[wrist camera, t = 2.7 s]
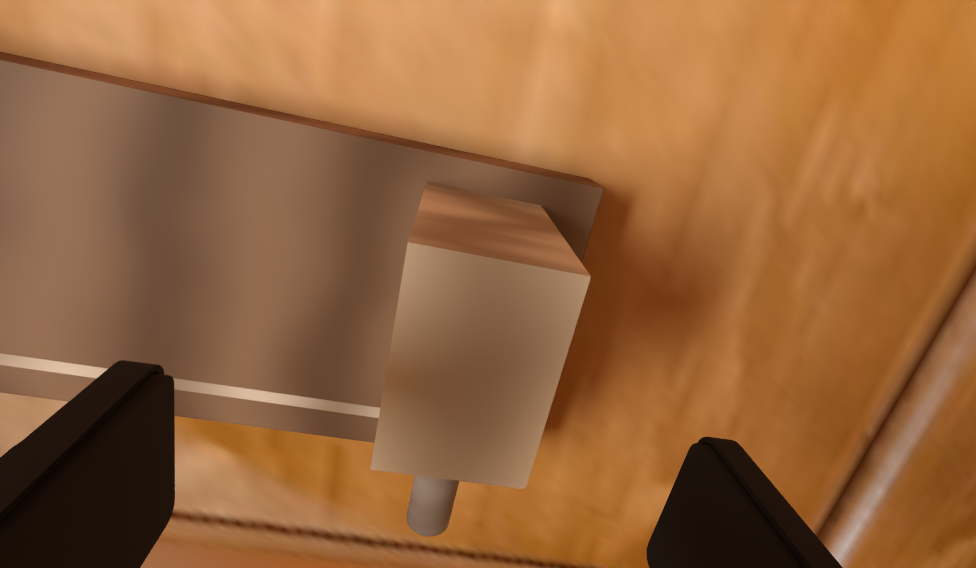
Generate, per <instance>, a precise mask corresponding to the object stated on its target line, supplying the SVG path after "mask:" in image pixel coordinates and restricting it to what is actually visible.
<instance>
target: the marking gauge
mask: <svg viewBox="0 0 976 568" xmlns="http://www.w3.org/2000/svg"><path fill="white" fill-rule="evenodd" d="M590 279H591V276H590V274H589V273H588V271H587V270H586V269H585V267H584V266H583V264H582V263H581V262H580V260H579V259H578V257H577V256H576V254H575V253H574V252H573V250H572V249H571V247H570V246H569V244H568V243H567V242H566V240H565V239H564V237H563V236H562V235H561V233H560V232H559V230H558V229H557V227H556V226H555V225H554V223H553V222H552V220H551V219H550V218H549V216H548V215H547V213H546V212H545V210H544V209H543V208H542V206H541V205H537V204H532V203H527V202H522V201H517V200H513V199H508V198H503V197H498V196H493V195H488V194H483V193H478V192H474V191H469V190H464V189H459V188H454V187H449V186H444V185H439V184H435V183H430V182H427V183H426V186H425V189H424V192H423V195H422V198H421V202H420V205H419V208H418V211H417V214H416V218H415V221H414V224H413V227H412V230H411V233H410V237H409V240H408V244H407V250H406V256H405V262H404V268H403V274H402V280H401V286H400V292H399V298H398V304H397V310H396V316H395V322H394V328H393V334H392V340H391V346H390V352H389V358H388V364H387V370H386V377H385V383H384V389H383V395H382V401H381V407H380V413H379V419H378V425H377V431H376V437H375V443H374V449H373V455H372V461H371V467H370V469H371V470H379V471H386V472H394V473H402V474H410V475H415V478H414V483H413V488H412V492H411V497H410V502H409V507H408V512H407V523H408V525H409V526H410V528H411V529H412V530H413V531H414V532H416V533H418V534H420V535H423V536H436V535H439V534H441V533H442V532H444V531H445V530H446V528H447V527H448V524H449V520H450V516H451V512H452V508H453V504H454V500H455V496H456V491H457V487H458V483H459V481H465V482H473V483H481V484H489V485H496V486H504V487H512V488H520V489H526V486H527V482H528V479H529V476H530V473H531V470H532V466H533V463H534V460H535V457H536V453H537V450H538V447H539V444H540V440H541V437H542V434H543V431H544V428H545V424H546V421H547V418H548V415H549V411H550V408H551V405H552V402H553V398H554V395H555V392H556V389H557V386H558V382H559V379H560V376H561V373H562V369H563V366H564V363H565V360H566V356H567V353H568V350H569V347H570V344H571V340H572V337H573V334H574V331H575V327H576V324H577V321H578V318H579V314H580V311H581V308H582V305H583V302H584V298H585V295H586V292H587V289H588V285H589V282H590Z"/></svg>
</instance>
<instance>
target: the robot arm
mask: <svg viewBox="0 0 976 568" xmlns="http://www.w3.org/2000/svg"><path fill="white" fill-rule="evenodd" d="M174 501H175V446H174V379H173V377H172V376H171V375H164V370H163V368H162V366H160V365H157V364H149V363H142V362H134V361H126V360H120V361H118V362H116V363H114V364H113V365H112V366H111V367H110V368H108V369H107V370H106V371H105V372H104V373H102V374H101V375H100V376H99V377H98V378H96V379H95V380H94V381H93V382H92V383H91V384H89V385H88V386H87V387H86V388H85V389H83V390H82V391H81V392H80V393H79V394H77V395H76V396H75V397H74V398H73V399H71V400H70V401H69V402H68V403H67V404H66V405H64V406H63V407H62V408H61V409H60V410H58V411H57V412H56V413H55V414H54V415H52V416H51V417H50V418H49V419H48V420H46V421H45V422H44V423H43V424H42V425H41V426H39V427H38V428H37V429H36V430H35V431H33V432H32V433H31V434H30V435H29V436H27V437H26V438H25V439H24V440H23V441H21V442H20V443H18V444H17V445H15V446H14V447H12V448H11V449H10V450H9V451H8V452H6V453H5V454H4V455H3V456H2V457H0V568H140V567H141V565H142V564H143V562H144V561H145V559H146V557H147V556H148V554H149V553H150V551H151V549H152V548H153V546H154V545H155V543H156V541H157V540H158V538H159V537H160V535H161V533H162V532H163V530H164V529H165V527H166V525H167V524H168V522H169V519H170V517H171V514H172V511H173V507H174ZM647 561H648V565H649V568H842V566H841V565H840V564H839V563H838V562H837V560H836V559H835V558H834V557H833V556H832V554H831V553H830V552H829V551H828V550H827V548H826V547H825V546H824V545H823V544H822V543H821V541H820V540H819V539H818V538H817V537H816V535H815V534H814V533H813V532H812V531H811V529H810V528H809V527H808V526H807V525H806V523H805V522H804V521H803V520H802V519H801V517H800V516H799V515H798V514H797V513H796V511H795V510H794V509H793V508H792V507H791V505H790V504H789V503H788V502H787V501H786V500H785V498H784V497H783V496H782V495H781V494H780V492H779V491H778V490H777V489H776V488H775V486H774V485H773V484H772V483H771V482H770V480H769V479H768V478H767V477H766V476H765V474H764V473H763V472H762V471H761V470H760V468H759V467H758V466H757V465H756V464H755V462H754V461H753V460H752V459H751V458H750V456H749V455H748V454H747V453H746V452H745V451H744V449H743V448H742V447H741V446H740V445H739V444H738V443H737V442H736V441H733V440H728V439H720V438H712V437H703V438H701V439H700V440H699V441H698V443H695V444H693V445H692V446H691V447H690V449H689V451H688V453H687V455H686V458H685V460H684V462H683V465H682V467H681V469H680V472H679V474H678V476H677V479H676V481H675V483H674V485H673V488H672V490H671V492H670V495H669V497H668V499H667V502H666V504H665V506H664V509H663V511H662V513H661V516H660V518H659V520H658V522H657V525H656V527H655V529H654V532H653V534H652V536H651V539H650V541H649V543H648V547H647Z"/></svg>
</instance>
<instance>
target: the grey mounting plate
mask: <svg viewBox="0 0 976 568" xmlns="http://www.w3.org/2000/svg"><path fill="white" fill-rule="evenodd" d="M427 182H430V183H435V184H439V185H444V186H449V187H454V188H459V189H464V190H469V191H474V192H478V193H483V194H488V195H493V196H498V197H503V198H508V199H513V200H517V201H522V202H527V203H532V204H537V205H541V206H542V208H543V209H544V210H545V212H546V213H547V215H548V216H549V218H550V219H551V220H552V222H553V223H554V225H555V226H556V227H557V229H558V230H559V232H560V233H561V235H562V236H563V237H564V239H565V240H566V242H567V243H568V244H569V246H570V247H571V249H572V250H573V252H574V253H575V254H576V256H577V257H578V259H579V260H580V262H581V263H582V260H583V256H584V253H585V250H586V246H587V243H588V240H589V236H590V233H591V230H592V226H593V223H594V220H595V216H596V213H597V209H598V206H599V203H600V199H601V196H602V193H603V188H602V187H601V186H599V185H598V184H596V183H595V182H593V181H592V180H591V179H588V178H584V177H579V176H574V175H570V174H565V173H560V172H556V171H551V170H546V169H542V168H537V167H532V166H528V165H523V164H519V163H514V162H509V161H505V160H500V159H495V158H491V157H486V156H481V155H477V154H472V153H467V152H463V151H458V150H453V149H449V148H444V147H440V146H435V145H430V144H426V143H421V142H416V141H412V140H407V139H402V138H398V137H393V136H388V135H384V134H379V133H374V132H370V131H365V130H361V129H356V128H351V127H347V126H342V125H337V124H333V123H328V122H323V121H319V120H314V119H309V118H305V117H300V116H295V115H291V114H286V113H282V112H277V111H272V110H268V109H263V108H258V107H254V106H249V105H244V104H240V103H235V102H230V101H226V100H221V99H216V98H212V97H207V96H203V95H198V94H193V93H189V92H184V91H179V90H175V89H170V88H165V87H161V86H156V85H151V84H147V83H142V82H137V81H133V80H128V79H124V78H119V77H114V76H110V75H105V74H100V73H96V72H91V71H86V70H82V69H77V68H72V67H68V66H63V65H58V64H54V63H49V62H44V61H40V60H35V59H31V58H26V57H21V56H17V55H12V54H7V53H3V52H0V392H2V393H9V394H17V395H24V396H31V397H39V398H46V399H54V400H61V401H70V400H71V399H73V398H74V397H75V396H76V395H77V394H79V393H80V392H81V391H82V390H83V389H85V388H86V387H87V386H88V385H89V384H91V383H92V382H93V381H94V380H95V379H96V378H98V377H99V376H100V375H101V374H102V373H104V372H105V371H106V370H107V369H108V368H110V367H111V366H112V365H113V364H114V363H116V362H118V361H120V360H126V361H134V362H142V363H149V364H157V365H160V366H162V368H163V370H164V375H171V376H172V377H173V379H174V416H180V417H188V418H195V419H203V420H210V421H218V422H225V423H232V424H240V425H247V426H255V427H262V428H270V429H277V430H285V431H292V432H299V433H307V434H314V435H322V436H329V437H337V438H344V439H352V440H359V441H366V442H374V443H375V437H376V431H377V425H378V419H379V413H380V407H381V401H382V395H383V389H384V383H385V377H386V370H387V364H388V358H389V352H390V346H391V340H392V334H393V328H394V322H395V316H396V310H397V304H398V298H399V292H400V286H401V280H402V274H403V268H404V262H405V256H406V250H407V244H408V240H409V237H410V233H411V230H412V227H413V224H414V221H415V218H416V214H417V211H418V208H419V205H420V202H421V198H422V195H423V192H424V189H425V186H426V183H427Z"/></svg>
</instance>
